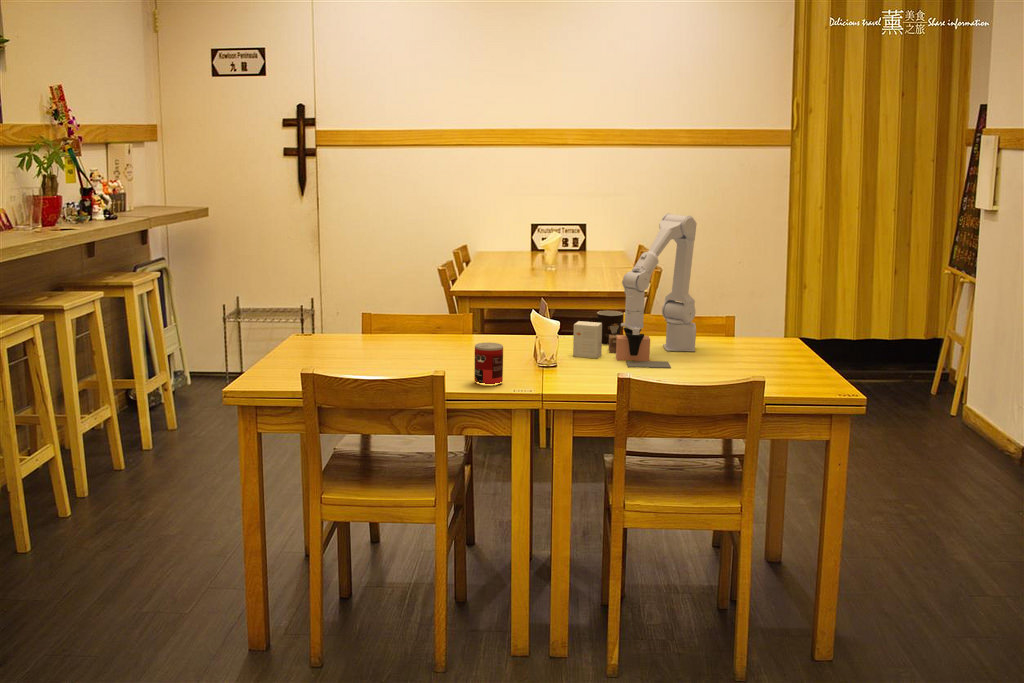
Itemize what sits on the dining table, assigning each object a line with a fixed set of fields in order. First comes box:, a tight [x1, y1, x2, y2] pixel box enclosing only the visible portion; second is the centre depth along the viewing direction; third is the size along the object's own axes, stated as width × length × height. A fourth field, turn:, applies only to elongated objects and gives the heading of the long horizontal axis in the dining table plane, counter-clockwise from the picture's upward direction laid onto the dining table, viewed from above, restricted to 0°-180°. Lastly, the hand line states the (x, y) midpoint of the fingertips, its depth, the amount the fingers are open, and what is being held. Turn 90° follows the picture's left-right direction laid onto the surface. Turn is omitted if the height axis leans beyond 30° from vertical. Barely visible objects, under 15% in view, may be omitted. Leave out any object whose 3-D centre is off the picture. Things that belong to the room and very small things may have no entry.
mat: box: [625, 360, 672, 369], centre depth 317 cm, size 13×7×1 cm, turn 89°
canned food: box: [474, 342, 504, 384], centre depth 292 cm, size 8×8×11 cm
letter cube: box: [608, 334, 626, 354], centre depth 334 cm, size 5×5×5 cm
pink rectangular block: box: [615, 334, 651, 361], centre depth 324 cm, size 10×5×7 cm, turn 89°
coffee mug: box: [587, 310, 624, 346], centre depth 346 cm, size 12×9×10 cm
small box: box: [572, 320, 603, 359], centre depth 327 cm, size 8×6×10 cm
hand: (632, 352), depth 325 cm, fingers open, 6 cm apart
